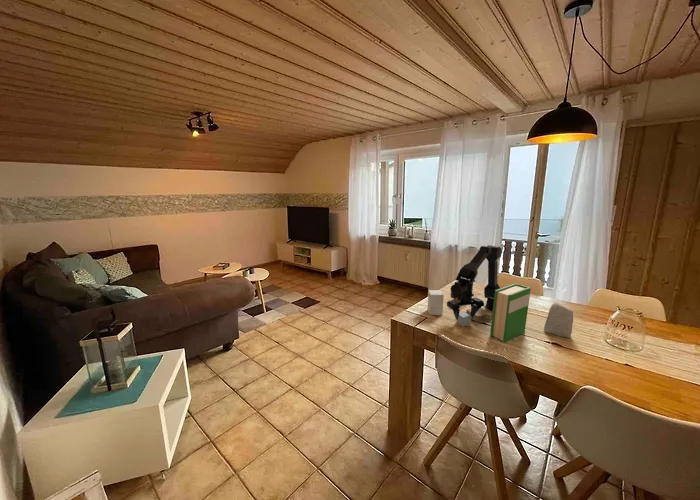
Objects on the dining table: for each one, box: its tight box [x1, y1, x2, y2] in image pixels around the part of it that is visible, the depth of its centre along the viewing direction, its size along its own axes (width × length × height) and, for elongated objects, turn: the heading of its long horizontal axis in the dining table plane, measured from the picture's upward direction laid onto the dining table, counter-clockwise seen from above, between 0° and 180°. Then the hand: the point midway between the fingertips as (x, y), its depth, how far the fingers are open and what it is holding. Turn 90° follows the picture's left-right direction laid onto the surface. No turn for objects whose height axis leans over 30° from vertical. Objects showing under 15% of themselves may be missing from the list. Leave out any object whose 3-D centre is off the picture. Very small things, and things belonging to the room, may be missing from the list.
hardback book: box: [489, 282, 532, 344], centre depth 137 cm, size 18×7×24 cm, turn 122°
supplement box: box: [427, 289, 445, 316], centre depth 164 cm, size 7×7×13 cm
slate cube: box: [456, 312, 472, 327], centre depth 151 cm, size 5×5×5 cm
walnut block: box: [465, 307, 492, 323], centre depth 158 cm, size 9×9×4 cm
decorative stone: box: [543, 302, 574, 339], centre depth 139 cm, size 11×6×15 cm, turn 39°
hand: (464, 318), depth 151 cm, fingers open, 9 cm apart
